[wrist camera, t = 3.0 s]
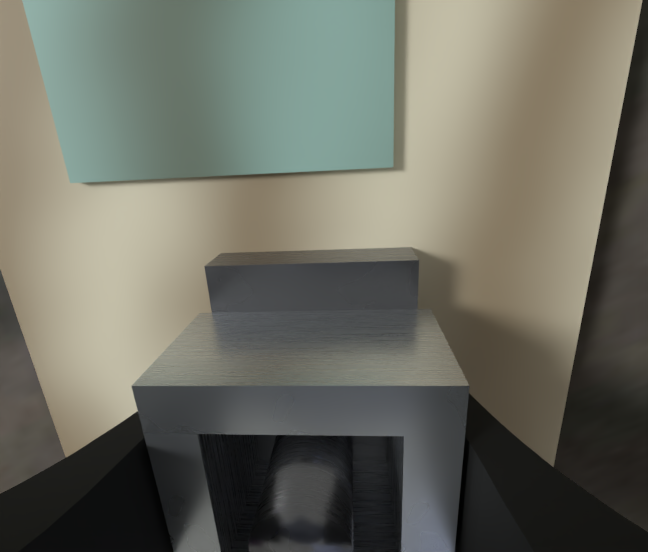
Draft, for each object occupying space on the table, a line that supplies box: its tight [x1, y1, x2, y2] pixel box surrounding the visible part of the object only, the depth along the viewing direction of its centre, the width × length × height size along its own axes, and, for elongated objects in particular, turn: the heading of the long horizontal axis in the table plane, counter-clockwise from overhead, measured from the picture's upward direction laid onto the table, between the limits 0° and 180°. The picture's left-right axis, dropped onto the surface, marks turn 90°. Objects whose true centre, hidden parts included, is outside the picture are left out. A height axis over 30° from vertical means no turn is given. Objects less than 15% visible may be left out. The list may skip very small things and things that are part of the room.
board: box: [0, 0, 642, 467], centre depth 10 cm, size 16×20×1 cm
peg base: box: [204, 247, 419, 552], centre depth 9 cm, size 5×8×5 cm, turn 3°
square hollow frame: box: [132, 309, 469, 552], centre depth 8 cm, size 6×6×3 cm
